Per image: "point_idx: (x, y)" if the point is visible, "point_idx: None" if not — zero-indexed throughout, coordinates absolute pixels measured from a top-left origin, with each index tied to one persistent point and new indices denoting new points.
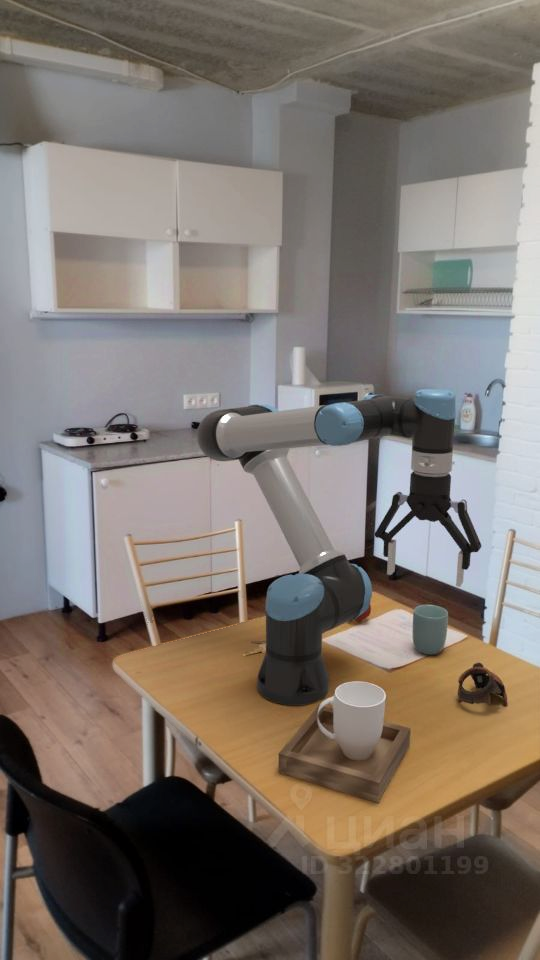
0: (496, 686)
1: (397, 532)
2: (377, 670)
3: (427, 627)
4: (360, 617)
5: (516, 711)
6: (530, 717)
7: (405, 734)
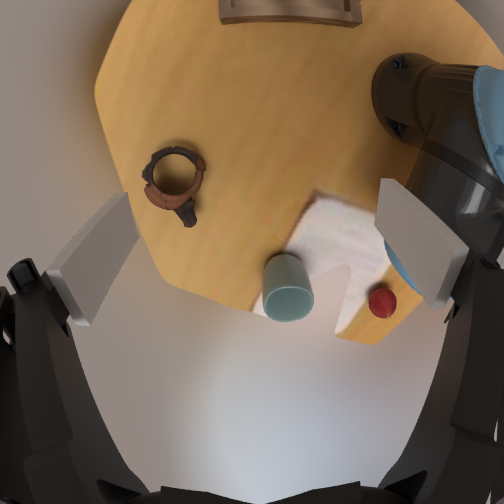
0: (145, 176)
1: (472, 308)
2: (330, 186)
3: (285, 275)
4: (378, 290)
5: (135, 178)
6: (119, 174)
7: (220, 2)
